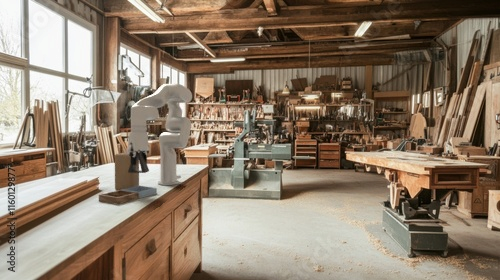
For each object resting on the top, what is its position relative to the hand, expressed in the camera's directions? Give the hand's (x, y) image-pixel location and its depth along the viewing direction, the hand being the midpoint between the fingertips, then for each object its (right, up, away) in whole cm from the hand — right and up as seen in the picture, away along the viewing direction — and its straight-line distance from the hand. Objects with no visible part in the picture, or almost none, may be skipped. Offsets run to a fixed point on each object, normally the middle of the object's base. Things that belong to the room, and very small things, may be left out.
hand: (138, 163), depth 164 cm
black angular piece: (0, -4, 0) cm, 4 cm away
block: (-11, -15, +14) cm, 24 cm away
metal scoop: (-13, -16, 0) cm, 21 cm away
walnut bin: (-6, -17, -11) cm, 21 cm away
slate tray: (0, -16, +1) cm, 16 cm away
